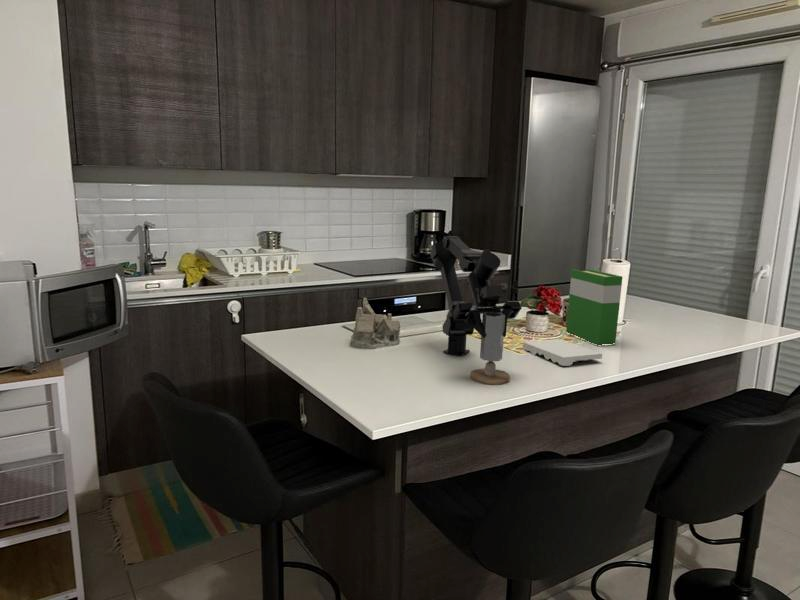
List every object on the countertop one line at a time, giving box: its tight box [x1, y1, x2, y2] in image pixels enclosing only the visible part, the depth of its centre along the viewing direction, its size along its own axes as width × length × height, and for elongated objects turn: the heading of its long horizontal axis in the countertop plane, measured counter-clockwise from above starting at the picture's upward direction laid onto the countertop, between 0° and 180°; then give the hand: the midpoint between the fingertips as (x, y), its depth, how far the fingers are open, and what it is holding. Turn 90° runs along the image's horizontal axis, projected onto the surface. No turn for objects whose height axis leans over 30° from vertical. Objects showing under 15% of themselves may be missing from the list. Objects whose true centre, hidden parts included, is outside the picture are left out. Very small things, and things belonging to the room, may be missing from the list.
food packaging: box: [522, 338, 603, 367], centre depth 188 cm, size 15×3×20 cm
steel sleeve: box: [479, 312, 505, 362], centre depth 162 cm, size 6×6×12 cm
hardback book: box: [565, 268, 623, 345], centre depth 209 cm, size 18×7×24 cm, turn 21°
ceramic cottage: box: [349, 297, 401, 350], centre depth 195 cm, size 16×16×15 cm
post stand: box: [469, 361, 511, 386], centre depth 164 cm, size 11×11×5 cm
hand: (494, 336), depth 161 cm, fingers closed on steel sleeve, 6 cm apart
